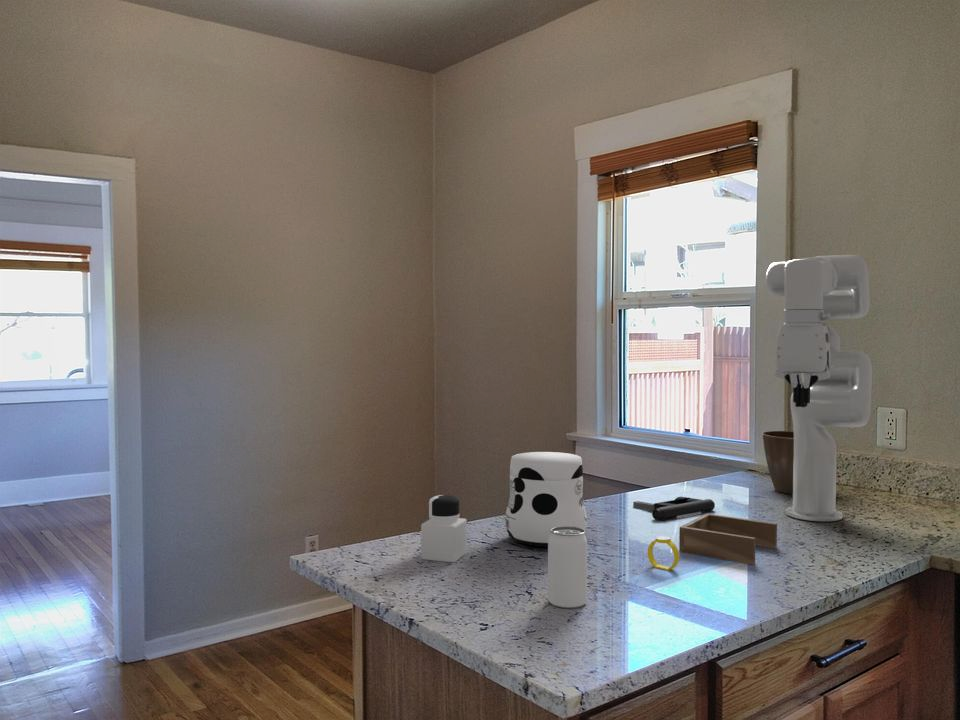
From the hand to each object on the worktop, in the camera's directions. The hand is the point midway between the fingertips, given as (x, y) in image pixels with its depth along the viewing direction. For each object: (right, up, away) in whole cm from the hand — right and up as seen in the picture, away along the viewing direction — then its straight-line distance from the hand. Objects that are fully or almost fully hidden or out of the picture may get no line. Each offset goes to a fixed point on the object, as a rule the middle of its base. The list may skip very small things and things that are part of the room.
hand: (801, 406), depth 164 cm
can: (-53, -31, -34) cm, 70 cm away
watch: (-33, -30, -16) cm, 47 cm away
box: (-16, -29, -3) cm, 33 cm away
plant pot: (+19, -27, +55) cm, 65 cm away
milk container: (-53, -29, +4) cm, 61 cm away
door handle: (-20, -29, +32) cm, 47 cm away
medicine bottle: (-74, -30, -8) cm, 80 cm away
